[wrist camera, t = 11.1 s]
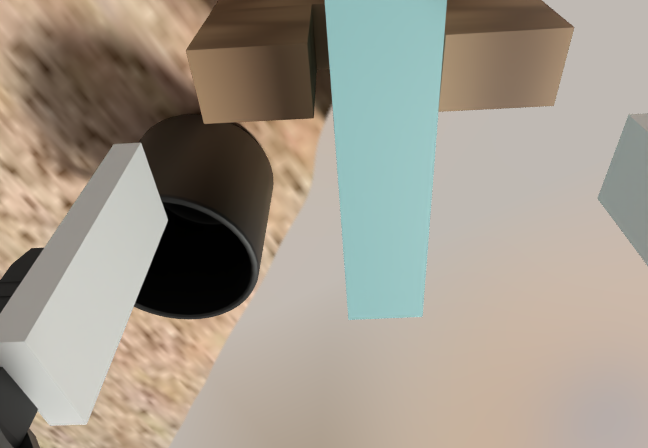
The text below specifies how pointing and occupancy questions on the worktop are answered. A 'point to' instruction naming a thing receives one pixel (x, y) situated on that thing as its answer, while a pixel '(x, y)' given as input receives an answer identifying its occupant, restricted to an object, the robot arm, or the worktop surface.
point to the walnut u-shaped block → (312, 54)
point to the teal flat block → (385, 145)
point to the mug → (205, 217)
